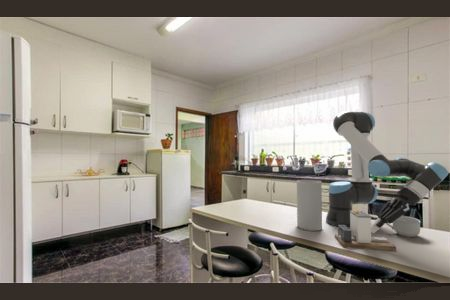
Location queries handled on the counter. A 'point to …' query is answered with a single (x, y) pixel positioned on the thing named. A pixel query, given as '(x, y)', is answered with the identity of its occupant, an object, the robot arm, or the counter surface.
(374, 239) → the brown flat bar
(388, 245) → the board
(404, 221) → the teacup
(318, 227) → the cylinder vase
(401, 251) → the counter surface
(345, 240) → the end clamp
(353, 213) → the white rectangular container
